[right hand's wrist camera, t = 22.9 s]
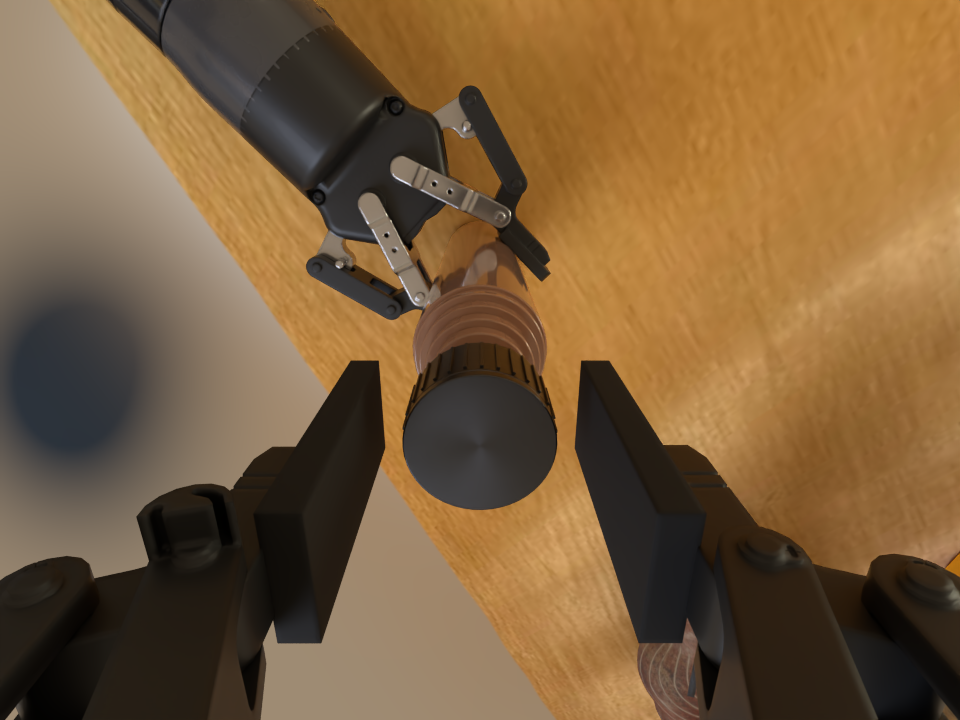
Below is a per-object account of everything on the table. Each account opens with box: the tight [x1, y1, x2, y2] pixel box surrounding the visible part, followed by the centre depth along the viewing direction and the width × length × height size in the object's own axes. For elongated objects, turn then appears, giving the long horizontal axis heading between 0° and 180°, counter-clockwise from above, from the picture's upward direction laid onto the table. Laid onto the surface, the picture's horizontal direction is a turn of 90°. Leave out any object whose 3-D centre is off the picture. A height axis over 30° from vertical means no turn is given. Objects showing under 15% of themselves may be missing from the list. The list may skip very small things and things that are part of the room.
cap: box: [403, 342, 557, 510], centre depth 14 cm, size 4×4×2 cm
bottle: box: [413, 221, 547, 376], centre depth 25 cm, size 5×5×25 cm
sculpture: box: [637, 619, 700, 720], centre depth 40 cm, size 14×25×15 cm, turn 8°
